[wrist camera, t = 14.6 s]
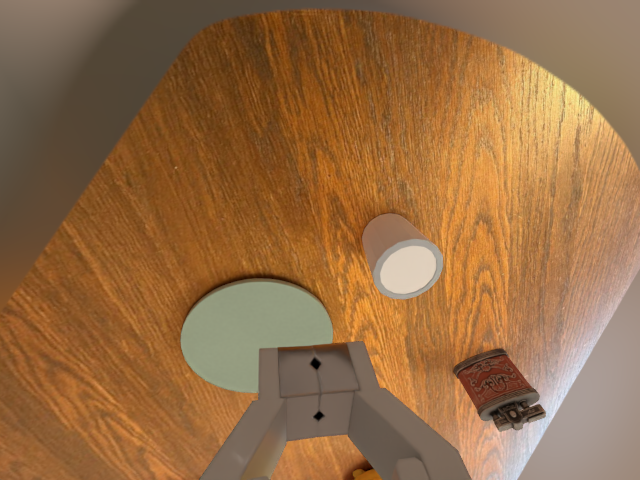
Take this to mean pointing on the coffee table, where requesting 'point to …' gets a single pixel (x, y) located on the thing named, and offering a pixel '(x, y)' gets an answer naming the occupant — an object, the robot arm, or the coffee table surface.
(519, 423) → the lighter
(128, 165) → the coffee table surface
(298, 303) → the plate
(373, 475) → the teapot
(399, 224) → the shot glass
